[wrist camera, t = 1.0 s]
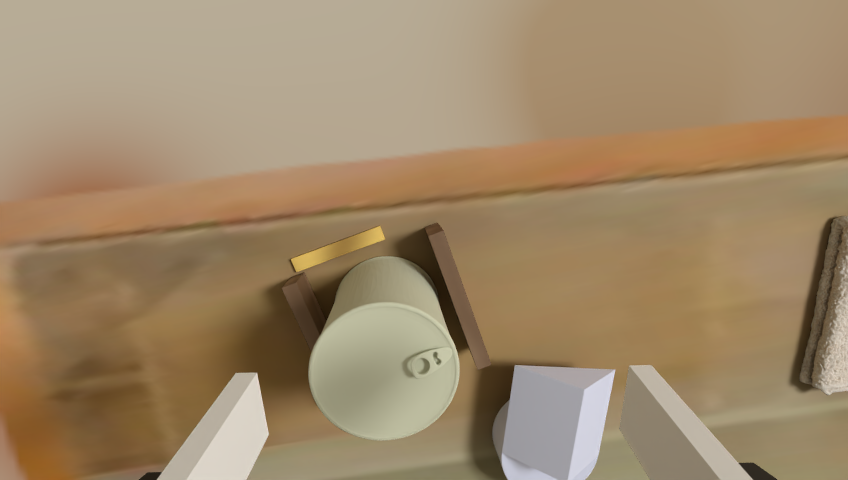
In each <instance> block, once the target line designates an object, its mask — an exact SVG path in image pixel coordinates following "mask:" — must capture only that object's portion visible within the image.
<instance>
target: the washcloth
mask: <svg viewBox="0 0 848 480" xmlns="http://www.w3.org/2000/svg"><path fill="white" fill-rule="evenodd" d="M831 227H832V228H831V233H830V236H829V241H828V246H827V250H826V253H825V261H824V269H823V270H822V275H821V280H820V281H819V286H820V287H819V289H818V292H817V297H816V298H817V300H816V306H815V310H814V314H815V315H814V317H813V321H812V324H811V328H812V330H811V332H810V338H809V340H808V345H807V347H806V352H805V357H804V361H803V364H802V369H801V372H800V379H799V380H800V381H801V382H803V383H806V384H812V386H813V387H815V388H819V389H820V390H821V391H823V392H824V393H825V394H826V395H830V394H831V393H833V392H841V391H848V216H841V217H838V218H836V219H833V223H832V224H831Z"/></svg>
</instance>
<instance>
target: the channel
mask: <svg viewBox="0 0 848 480" xmlns="http://www.w3.org/2000/svg"><path fill="white" fill-rule="evenodd" d="M425 230H426V233H427V236H428V239H429V241H430V244H431V247H432V249H433V252H434V255H435V258H436V260H437V263H438V266H439V268H440V271H441V274H442V277H443V279H444V282H445V285H446V288H447V290H448V293H449V296H450V298H451V301H452V304H453V307H454V309H455V312H456V315H457V317H458V320H459V323H460V326H461V328H462V331H463V334H464V336H465V339H466V342H467V345H468V347H469V350H470V352H471V355H472V357H473V359H474V362H475V364H476V367H477V369H478V370H479V369H482V368H484V367H487V366H490V365H491V362H490V359H489V357H488V354H487V351H486V348H485V345H484V343H483V340H482V337H481V334H480V331H479V329H478V326H477V323H476V320H475V317H474V315H473V312H472V309H471V306H470V303H469V301H468V298H467V295H466V292H465V289H464V287H463V284H462V281H461V278H460V275H459V273H458V270H457V267H456V264H455V262H454V259H453V256H452V253H451V250H450V248H449V245H448V242H447V239H446V236H445V234H444V231H443V229H442V228H441V227H440V225H439V224H438V223H435V224H433V225H430V226H427V227H425ZM384 239H385V237H384V235H383V232H382V230H381V227H380V226H378V227H375V228H372V229H370V230H367V231H364V232H361V233H359V234H356V235H353V236H351V237H348V238H345V239H343V240H340V241H337V242H335V243H332V244H329V245H327V246H324V247H321V248H318V249H316V250H313V251H310V252H308V253H305V254H302V255H300V256H297V257H294V258H292V259H291V261H292V263H293V265H294V268H295V270H296V272H298V271H301V270H304V269H306V268H309V267H312V266H314V265H317V264H320V263H322V262H325V261H328V260H331V259H333V258H336V257H339V256H341V255H344V254H347V253H349V252H352V251H355V250H357V249H360V248H363V247H365V246H368V245H371V244H374V243H376V242H379V241H382V240H384ZM282 290H283V292H284V295H285V297H286V299H287V301H288V303H289V305H290V307H291V310H292V312H293V314H294V316H295V318H296V320H297V322H298V325H299V327H300V329H301V331H302V333H303V335H304V337H305V340H306V342H307V344H308V346H309V348H310V350H311V352H312V350H313V347H314V345H315V343H316V341H317V339H318V338H319V336H320V335H321V333H322V331H323V329H324V326H325V324H326V319H325V317H324V315H323V313H322V311H321V308H320V306H319V304H318V302H317V299H316V297H315V295H314V293H313V290H312V288H311V286H310V284H309V282H308V279H307V277H306V275H305V273H301V274H298V275H296V276H293V277H291V278H290V279H289V280H288V281H287V282H286V284H285V285H284V286H283V287H282Z"/></svg>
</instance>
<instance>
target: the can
mask: <svg viewBox="0 0 848 480" xmlns="http://www.w3.org/2000/svg"><path fill="white" fill-rule="evenodd" d="M308 377H309V385H310V390H311V393H312V396H313V398H314V400H315V402H316V404H317V406H318V407H319V409H320V410H321V412H322V413H323V414H324V415H325V416H326V417H327V419H328V420H329V421H331V422H332V423H333V424H334V425H336V426H337V427H338V428H340V429H341V430H343V431H345V432H347V433H349V434H352V435H354V436H357V437H361V438H364V439H370V440H394V439H400V438H404V437H407V436H410V435H412V434H415V433H417V432H419V431H421V430H423V429H425V428H426V427H428V426H429V425H430V424H432V423H433V422H434V421H436V420H437V419H438V418H439V417H440V416H441V415H442V414H443V412H444V411H445V410H446V408H447V407H448V406H449V404H450V402H451V401H452V399H453V397H454V394H455V391H456V389H457V385H458V381H459V359H458V353H457V350H456V347H455V344H454V342H453V340H452V338H451V336H450V334H449V331H448V329H447V326H446V323H445V320H444V317H443V314H442V311H441V308H440V305H439V297H438V293H437V289H436V287H435V285H434V283H433V281H432V280H431V278H430V277H429V275H428V274H427V273H426V272H425V271H424V270H423V269H422V268H421V267H419V266H418V265H416V264H415V263H413V262H411V261H409V260H406V259H403V258H399V257H393V256H382V257H375V258H372V259H369V260H366V261H364V262H362V263H360V264H358V265H357V266H355V267H354V268H353V269H352V270H351V271H350V272H348V274H347V275H346V276H345V277H344V278H343V280H342V282H341V283H340V285H339V287H338V290H337V293H336V297H335V302H334V305H333V308H332V310H331V312H330V315H329V317H328V319H327V322H326V324H325V326H324V329H323V331H322V333H321V335H320V336H319V338H318V339H317V341H316V343H315V345H314V347H313V350H312V353H311V356H310V360H309V368H308Z"/></svg>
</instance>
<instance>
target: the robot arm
mask: <svg viewBox="0 0 848 480" xmlns="http://www.w3.org/2000/svg"><path fill="white" fill-rule="evenodd" d="M619 429H620V431H621V432H622V434H623V436H624V437H625V439H626V441H627V442H628V444H629V446H630V447H631V449H632V451H633V452H634V454H635V455H636V457H637V459H638V460H639V462H640V464H641V465H642V467H643V469H644V470H645V472H646V474H647V475H648V477H649V479H650V480H777V479H776V478H774V477H773V476H772V475H770V474H769V473H767V472H766V471H764V470H763V469H762V468H760V467H759V466H757V465H756V464H755V463H738V462H737V461H736V460H735V459H734V458H733V457H732V456H731V454H730V453H729V452H728V451H727V450H726V449H725V448H724V447H723V445H722V444H721V443H720V442H719V441H718V440H717V439H716V438H715V436H714V435H713V434H712V433H711V432H710V431H709V430H708V429H707V427H706V426H705V425H704V424H703V423H702V422H701V421H700V420H699V418H698V417H697V416H696V415H695V414H694V413H693V412H692V411H691V409H690V408H689V407H688V406H687V405H686V404H685V403H684V402H683V400H682V399H681V398H680V397H679V396H678V395H677V394H676V393H675V391H674V390H673V389H672V388H671V387H670V386H669V385H668V384H667V382H666V381H665V380H664V379H663V378H662V377H661V376H660V375H659V373H658V372H657V371H656V370H655V369H654V368H653V367H652V366H651V365H638V366H629V370H628V376H627V383H626V389H625V396H624V402H623V409H622V415H621V422H620V428H619ZM268 435H269V433H268V428H267V423H266V417H265V412H264V407H263V401H262V396H261V391H260V385H259V380H258V375H257V373H235V375H234V376H233V377H232V379H231V380H230V381H229V383H228V384H227V386H226V387H225V388H224V390H223V391H222V392H221V394H220V395H219V396H218V398H217V399H216V400H215V402H214V403H213V404H212V406H211V407H210V408H209V410H208V411H207V413H206V414H205V415H204V417H203V418H202V419H201V421H200V422H199V423H198V425H197V426H196V427H195V429H194V430H193V431H192V433H191V434H190V435H189V437H188V438H187V440H186V441H185V442H184V444H183V445H182V446H181V448H180V449H179V450H178V452H177V453H176V454H175V456H174V457H173V458H172V460H171V461H170V462H169V464H168V465H167V467H166V468H165V469H164V471H163V472H149V473H146V474H145V475H144V476H143V477H141V478H140V479H139V480H246V479H247V477H248V475H249V473H250V471H251V469H252V467H253V465H254V463H255V461H256V459H257V457H258V455H259V453H260V451H261V449H262V447H263V445H264V443H265V441H266V439H267V437H268Z"/></svg>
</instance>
